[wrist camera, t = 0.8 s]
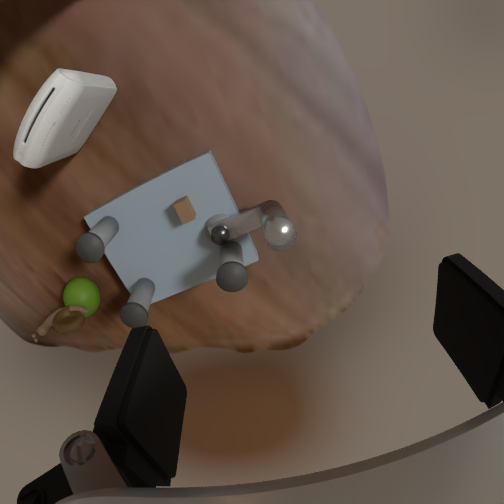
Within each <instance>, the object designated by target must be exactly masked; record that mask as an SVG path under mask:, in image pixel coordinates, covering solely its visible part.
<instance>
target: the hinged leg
mask: <svg viewBox="0 0 504 504" xmlns="http://www.w3.org/2000/svg"><path fill="white" fill-rule="evenodd" d="M260 227H262V230H263V234H264V238H265V241H266V244H267V245H268V246H269V247H270V248H271V249H272V250H275V251H285V250H287V249H289V248H290V247H292V246H293V244H294V243H295V240H296V231H295V229H294V227H293V225H292V223H291V221H290V220H289V218H288V216H287V214H286V212H285V210H284V209H283V207H282V205H281V204H280V203H279V202H277V201H274V200H268V201H265V202H263V203H260V204H258V205H256V206H253V207H251V208H249V209H246V210H244V211H241V212H239V213H237V214H234V215H232V216H230V217H227V218H225V219H223V220H220V221H218V222H216V223H213V224H211V225H209V226H208V230H209V232H210V234H211V240H212V242H213V243H214V244H216V246H217V245H224V244H226V243H227V242H228V241H229V240H231V239H233V238H236V237H238V236H241V235H243V234H245V233H248V232H250V231H253V230H255V229H257V228H260Z"/></svg>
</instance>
